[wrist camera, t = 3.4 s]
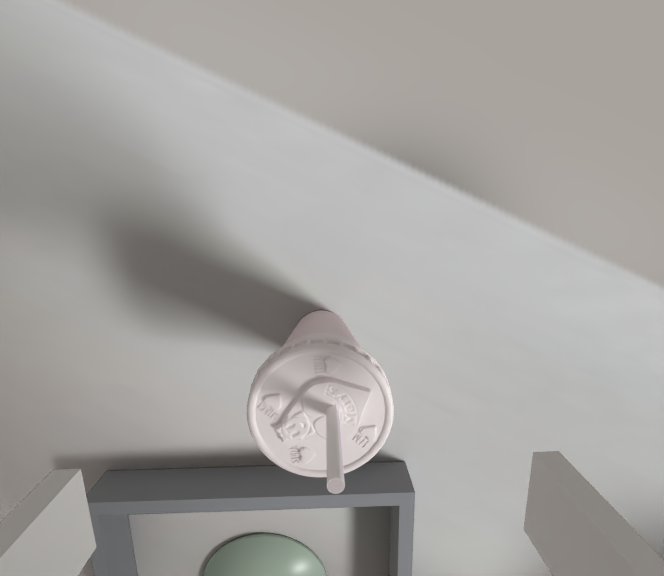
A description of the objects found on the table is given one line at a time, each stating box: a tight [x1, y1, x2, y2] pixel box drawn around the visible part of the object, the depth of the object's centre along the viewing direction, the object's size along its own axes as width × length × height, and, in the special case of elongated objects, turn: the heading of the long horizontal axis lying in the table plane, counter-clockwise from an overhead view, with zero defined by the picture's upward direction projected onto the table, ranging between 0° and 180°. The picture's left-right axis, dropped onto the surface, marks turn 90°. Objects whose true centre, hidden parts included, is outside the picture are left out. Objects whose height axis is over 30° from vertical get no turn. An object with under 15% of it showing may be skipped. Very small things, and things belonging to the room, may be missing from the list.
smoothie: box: [247, 311, 394, 494], centre depth 18 cm, size 6×6×14 cm
